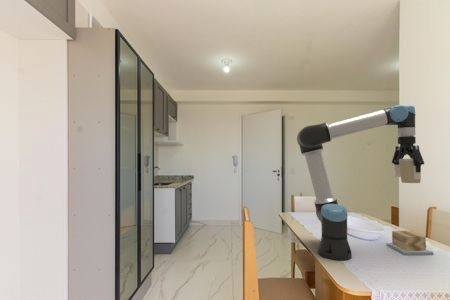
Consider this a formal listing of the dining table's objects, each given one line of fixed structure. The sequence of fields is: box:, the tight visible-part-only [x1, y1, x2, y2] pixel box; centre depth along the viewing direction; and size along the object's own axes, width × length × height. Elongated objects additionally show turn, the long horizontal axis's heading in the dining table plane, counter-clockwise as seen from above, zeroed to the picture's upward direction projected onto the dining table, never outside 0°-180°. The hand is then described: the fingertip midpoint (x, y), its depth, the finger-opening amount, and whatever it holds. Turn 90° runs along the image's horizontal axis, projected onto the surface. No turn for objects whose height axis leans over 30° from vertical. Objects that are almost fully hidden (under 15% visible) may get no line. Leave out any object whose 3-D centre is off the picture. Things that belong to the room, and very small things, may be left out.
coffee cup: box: [399, 158, 422, 184], centre depth 133 cm, size 9×9×12 cm
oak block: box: [391, 230, 427, 251], centre depth 135 cm, size 10×10×7 cm
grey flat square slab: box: [385, 242, 434, 256], centre depth 135 cm, size 14×14×1 cm
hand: (407, 178), depth 135 cm, fingers open, 13 cm apart
